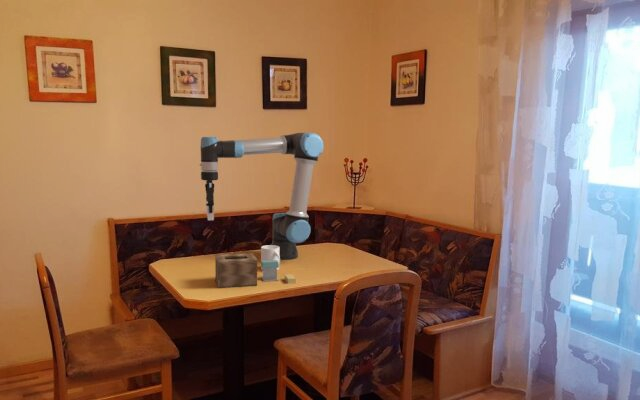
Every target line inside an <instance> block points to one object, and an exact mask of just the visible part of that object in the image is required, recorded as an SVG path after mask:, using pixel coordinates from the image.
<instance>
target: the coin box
mask: <svg viewBox="0 0 640 400" xmlns="http://www.w3.org/2000/svg"><path fill="white" fill-rule="evenodd" d="M214 255H215V258H214V260H215V265H214V266H215V268H214V269H215V282H216V286H217V288H218V289H227V288H230V289H231V288H243V287H244V288H245V287H256V286H257V287H258V258H257V257H256V256H255V255H254V253H253V252H250V253H226V254H214Z"/></svg>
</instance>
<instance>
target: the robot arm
mask: <svg viewBox="0 0 640 400" xmlns="http://www.w3.org/2000/svg"><path fill="white" fill-rule="evenodd" d="M199 147H200V163H199V166H200V171H201V172H200V179H201V180H202V181H205V184H204V188H205V194H206V196H205V198H206V203H205V208H206V216H207V221H214V220H215V203H214V201H215V198H214V193H215V183H214V182H213V181H217V180H219V172H218V171H219V159H221V158H222V159H223V158H225V159H226V158H227V159H230V158H231V159H240V158H243V157H244V156H249V155H252V156H253V155H264V154H265V155H266V154H280V153H281V155H291V156H292V155H294V157H293V159H294V161H295V162H296V164H295V170H294V177H293V184H292V190H291V196H290V202H289V203H290V204H289V209H288V211H286V212H278V213H277V212H276V213H273V215H272V243H271V245H275V246H279V247H280V251H279V256H280V260H281V261H282V260H284V261H285V260H293V259H294V260H295V259H296V258H298V257H299V251H298V248H297V244H300V243H304V242H305V241H306V240H307V239H309V236H310V234H311V225H310V224H309V218H310V217H309V215H308V213H307V211H308V204H309V199H310V192H311V191H310V190H311V186H312V180H313V179H312V178H313V171H314V167H315V166H314V165H316V164H317V163H318V160H319V157H320V156H321V154H322V153H323V152H324V142H323V139H322V137H321V136H320V135H318V133H314V132H295V133H292V134H284V135H280V136H279V137H270V138H269V137H267V138H265V137H264V138H252V139H251V138H250V139H233V140H219V138H218V137H217V136H202V137H201V139H200V146H199Z"/></svg>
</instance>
